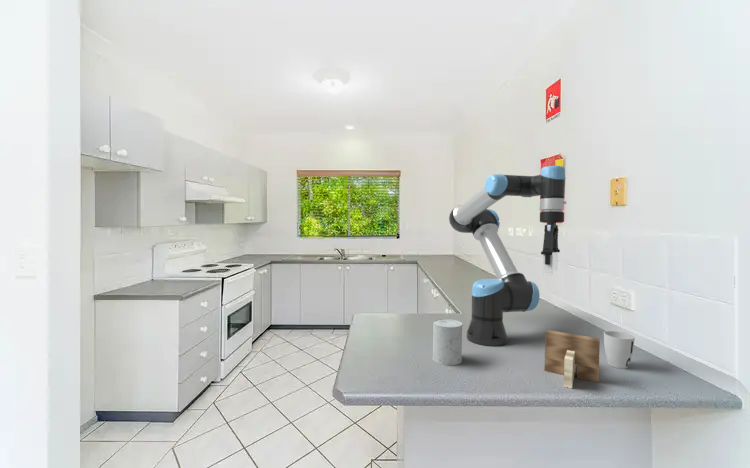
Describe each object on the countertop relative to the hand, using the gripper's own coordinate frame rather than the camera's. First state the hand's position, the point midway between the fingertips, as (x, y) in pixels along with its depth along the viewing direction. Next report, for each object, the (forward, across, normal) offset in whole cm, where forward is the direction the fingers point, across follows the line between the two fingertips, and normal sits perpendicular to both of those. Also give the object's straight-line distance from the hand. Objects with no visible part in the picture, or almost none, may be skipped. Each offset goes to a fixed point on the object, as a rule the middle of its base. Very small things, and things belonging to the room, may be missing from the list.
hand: (550, 272), depth 118 cm
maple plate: (+29, -15, -8) cm, 33 cm away
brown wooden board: (+29, -15, -8) cm, 33 cm away
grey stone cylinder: (+29, -26, +27) cm, 47 cm away
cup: (+29, +2, -20) cm, 35 cm away
